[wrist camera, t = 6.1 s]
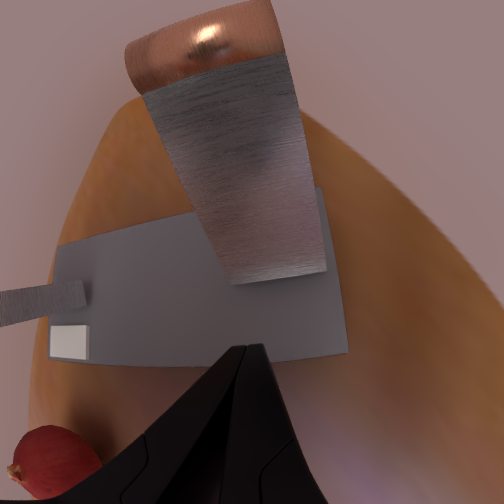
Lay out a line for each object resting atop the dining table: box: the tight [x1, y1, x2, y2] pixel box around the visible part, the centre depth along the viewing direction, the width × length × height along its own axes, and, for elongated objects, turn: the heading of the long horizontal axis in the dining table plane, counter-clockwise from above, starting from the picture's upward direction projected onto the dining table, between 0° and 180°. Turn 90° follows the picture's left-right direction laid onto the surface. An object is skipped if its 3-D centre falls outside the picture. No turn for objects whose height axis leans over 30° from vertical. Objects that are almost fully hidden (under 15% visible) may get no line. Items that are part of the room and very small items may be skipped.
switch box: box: [47, 186, 349, 367], centre depth 16 cm, size 8×18×3 cm, turn 95°
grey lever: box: [0, 280, 87, 327], centre depth 11 cm, size 2×4×10 cm, turn 94°
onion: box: [7, 425, 102, 500], centre depth 11 cm, size 6×6×8 cm
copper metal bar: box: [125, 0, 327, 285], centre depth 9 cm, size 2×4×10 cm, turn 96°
